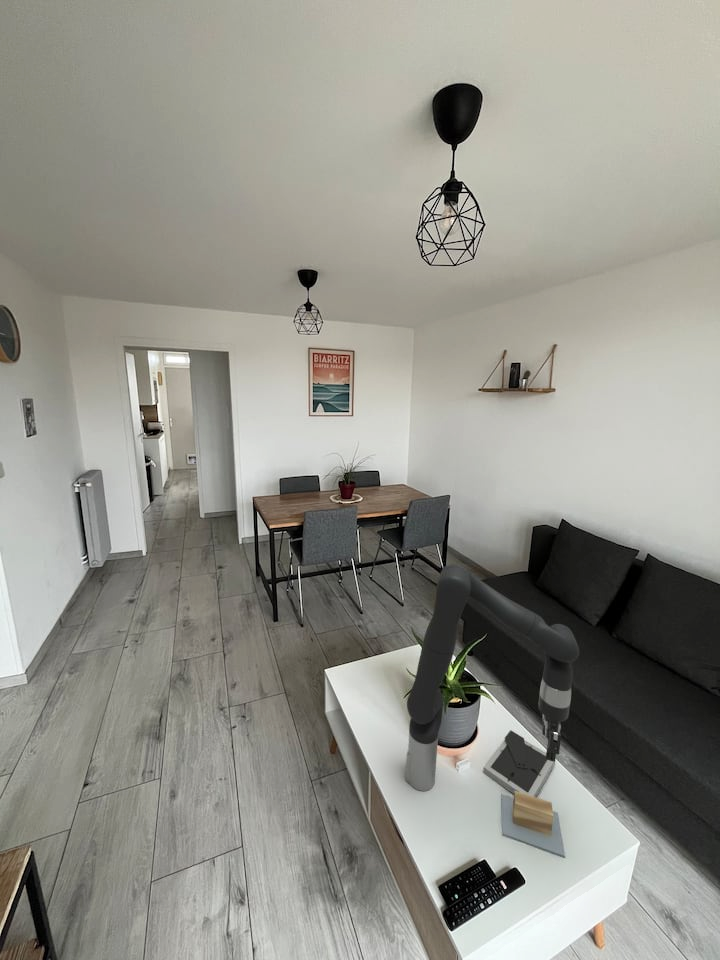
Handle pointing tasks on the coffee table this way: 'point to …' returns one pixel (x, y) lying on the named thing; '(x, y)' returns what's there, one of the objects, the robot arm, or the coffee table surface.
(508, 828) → the slate mat
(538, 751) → the picture frame
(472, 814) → the coffee table surface
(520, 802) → the oak card box
